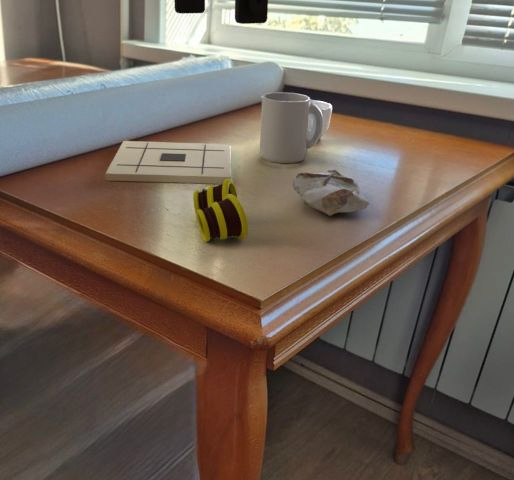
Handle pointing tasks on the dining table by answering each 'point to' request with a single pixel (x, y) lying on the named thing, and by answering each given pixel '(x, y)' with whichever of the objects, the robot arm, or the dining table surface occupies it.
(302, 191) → the stone
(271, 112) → the cup
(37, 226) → the dining table surface
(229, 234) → the opera glasses
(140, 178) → the board
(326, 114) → the teacup
